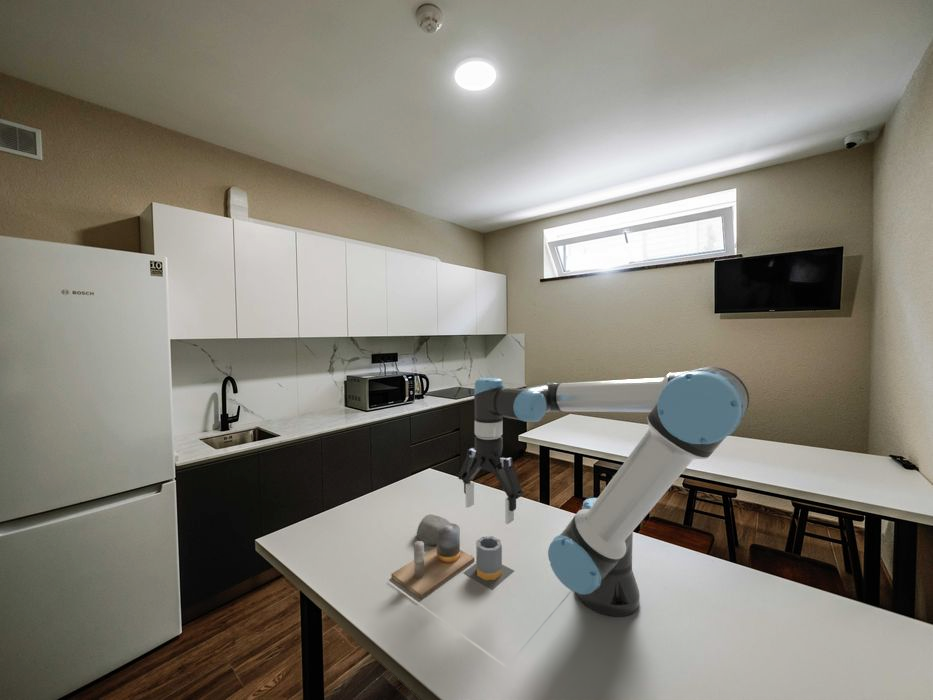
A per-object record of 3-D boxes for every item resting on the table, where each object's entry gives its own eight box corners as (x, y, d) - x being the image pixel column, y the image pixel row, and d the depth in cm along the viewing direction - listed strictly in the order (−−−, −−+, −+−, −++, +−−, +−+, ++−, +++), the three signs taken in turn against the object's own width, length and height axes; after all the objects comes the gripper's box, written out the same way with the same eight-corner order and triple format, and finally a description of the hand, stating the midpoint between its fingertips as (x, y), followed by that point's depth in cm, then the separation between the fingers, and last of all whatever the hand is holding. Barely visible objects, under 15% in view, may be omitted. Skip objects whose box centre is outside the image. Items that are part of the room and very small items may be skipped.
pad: (514, 572, 101) (514, 570, 101) (492, 591, 93) (492, 589, 93) (485, 557, 107) (485, 556, 107) (463, 574, 100) (462, 572, 100)
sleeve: (505, 571, 100) (505, 542, 100) (491, 583, 95) (491, 553, 95) (486, 561, 105) (486, 533, 104) (471, 572, 100) (471, 543, 99)
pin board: (474, 562, 105) (474, 528, 104) (421, 600, 90) (421, 560, 89) (444, 546, 113) (444, 514, 112) (391, 579, 98) (391, 542, 97)
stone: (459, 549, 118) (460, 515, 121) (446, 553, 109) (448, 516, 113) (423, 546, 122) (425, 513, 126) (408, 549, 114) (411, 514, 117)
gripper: (536, 441, 93) (536, 523, 94) (463, 425, 110) (463, 495, 110) (520, 448, 87) (520, 535, 88) (445, 430, 104) (446, 504, 105)
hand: (488, 513), depth 99 cm, fingers open, 13 cm apart
